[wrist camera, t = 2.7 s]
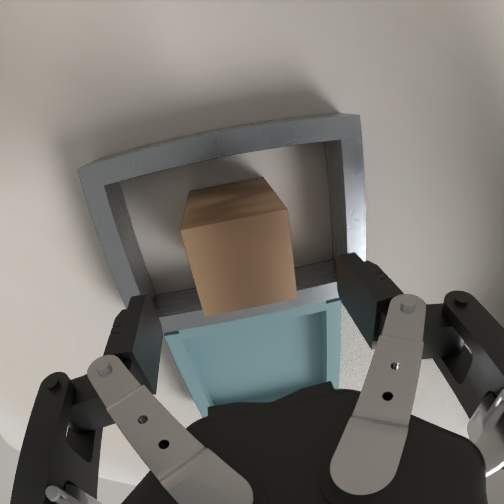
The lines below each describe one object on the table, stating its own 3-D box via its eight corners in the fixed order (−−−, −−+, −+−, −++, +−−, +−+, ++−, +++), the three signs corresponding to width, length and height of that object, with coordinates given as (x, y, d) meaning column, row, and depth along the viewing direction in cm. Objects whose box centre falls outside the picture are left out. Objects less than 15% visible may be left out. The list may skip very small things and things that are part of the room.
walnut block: (263, 177, 21) (287, 209, 14) (273, 243, 23) (297, 298, 17) (189, 191, 20) (180, 230, 14) (205, 257, 23) (204, 316, 16)
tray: (330, 276, 25) (341, 293, 22) (330, 382, 31) (337, 399, 28) (165, 310, 24) (161, 329, 22) (206, 407, 30) (207, 426, 28)
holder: (340, 113, 19) (359, 115, 16) (349, 271, 25) (364, 290, 22) (94, 160, 18) (77, 169, 16) (145, 312, 24) (139, 336, 21)
